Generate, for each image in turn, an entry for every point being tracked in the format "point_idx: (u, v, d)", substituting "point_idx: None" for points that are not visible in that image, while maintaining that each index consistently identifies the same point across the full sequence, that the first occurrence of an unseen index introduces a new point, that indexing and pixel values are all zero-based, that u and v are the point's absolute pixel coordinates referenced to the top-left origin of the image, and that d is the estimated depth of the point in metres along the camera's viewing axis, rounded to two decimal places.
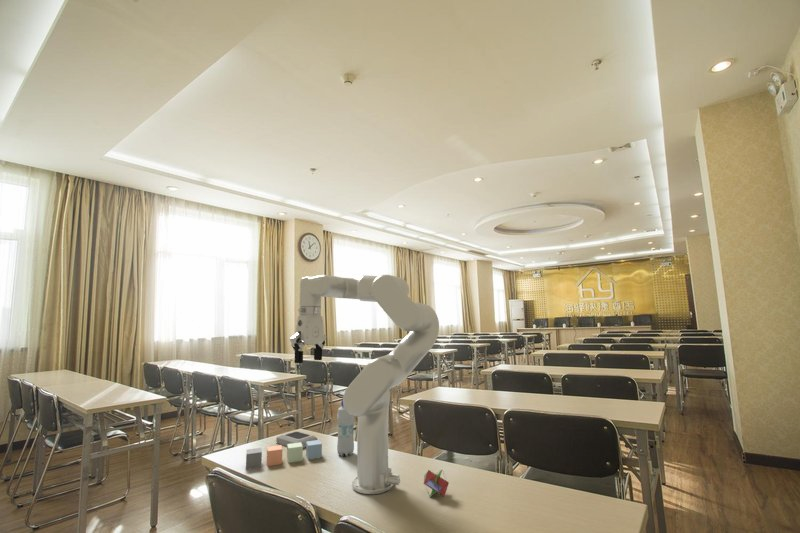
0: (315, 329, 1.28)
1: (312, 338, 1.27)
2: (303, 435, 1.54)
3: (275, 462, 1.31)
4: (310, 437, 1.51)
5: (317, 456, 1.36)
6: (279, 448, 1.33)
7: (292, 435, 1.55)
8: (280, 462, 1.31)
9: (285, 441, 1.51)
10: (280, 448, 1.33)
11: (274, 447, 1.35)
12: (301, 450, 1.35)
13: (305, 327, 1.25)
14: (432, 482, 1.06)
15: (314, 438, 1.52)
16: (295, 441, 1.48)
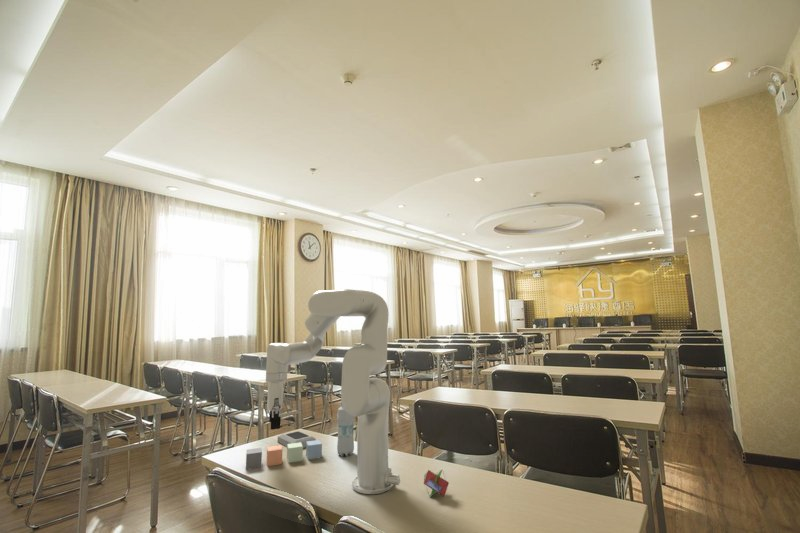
0: None
1: None
2: (303, 435, 1.54)
3: (275, 462, 1.31)
4: (308, 438, 1.51)
5: (317, 456, 1.36)
6: (279, 448, 1.33)
7: (292, 435, 1.55)
8: (280, 462, 1.31)
9: (284, 440, 1.51)
10: (280, 448, 1.33)
11: (274, 447, 1.35)
12: (301, 450, 1.35)
13: None
14: (432, 482, 1.06)
15: (312, 439, 1.51)
16: (292, 441, 1.48)
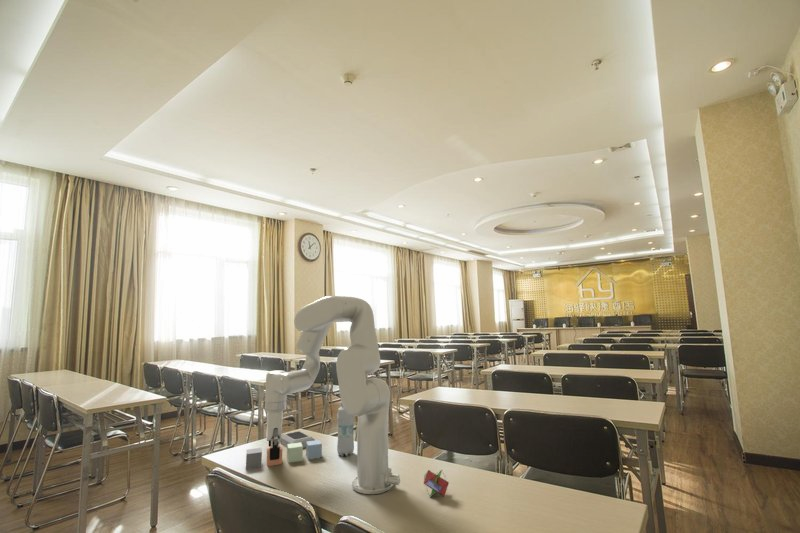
0: None
1: (266, 431, 1.35)
2: (302, 436, 1.54)
3: (275, 462, 1.31)
4: (307, 438, 1.50)
5: (317, 456, 1.36)
6: None
7: (292, 435, 1.55)
8: (280, 462, 1.31)
9: (284, 440, 1.52)
10: (280, 448, 1.33)
11: None
12: (301, 450, 1.35)
13: None
14: (432, 482, 1.06)
15: (311, 439, 1.50)
16: (291, 441, 1.48)
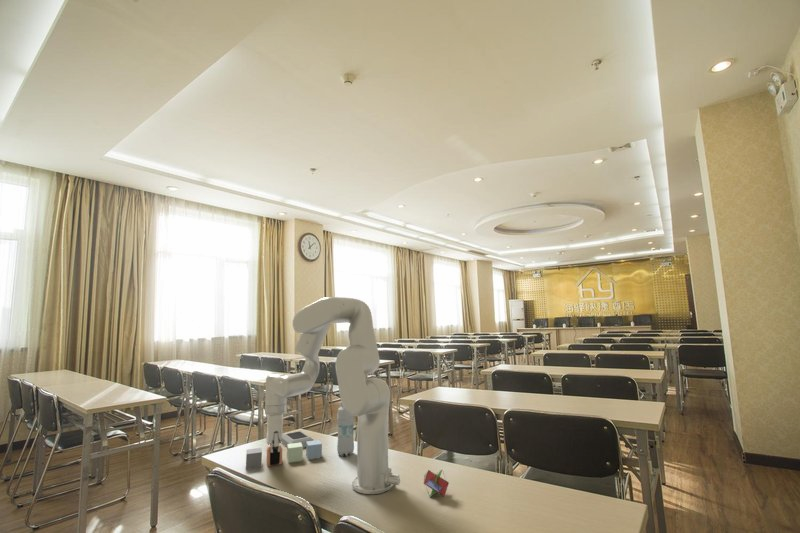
0: None
1: None
2: (302, 436, 1.53)
3: None
4: (306, 438, 1.50)
5: (317, 456, 1.36)
6: None
7: (293, 435, 1.55)
8: (280, 462, 1.31)
9: (284, 440, 1.52)
10: (280, 448, 1.33)
11: None
12: (301, 450, 1.35)
13: None
14: (432, 482, 1.06)
15: (310, 440, 1.50)
16: (290, 441, 1.48)
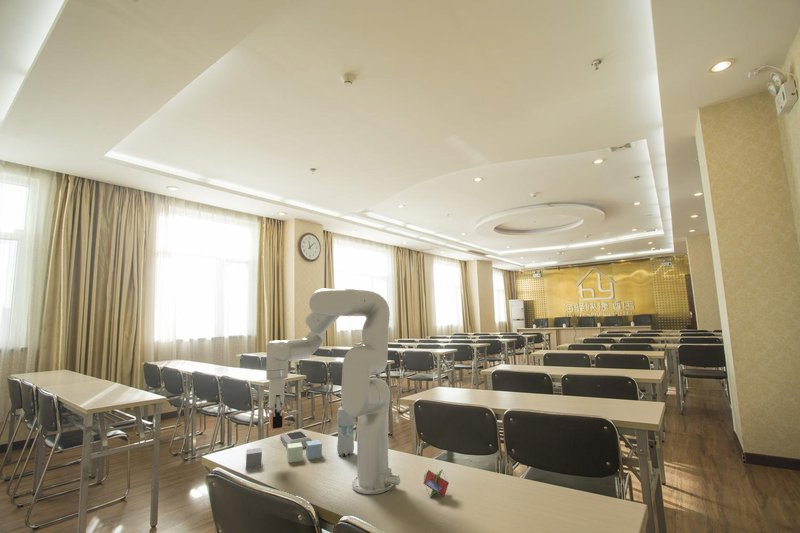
0: None
1: None
2: (302, 436, 1.53)
3: None
4: (305, 439, 1.49)
5: (317, 456, 1.36)
6: None
7: (293, 434, 1.55)
8: (283, 426, 1.33)
9: (283, 439, 1.52)
10: (282, 412, 1.35)
11: None
12: (301, 450, 1.35)
13: None
14: (432, 482, 1.06)
15: (309, 440, 1.49)
16: (288, 441, 1.48)
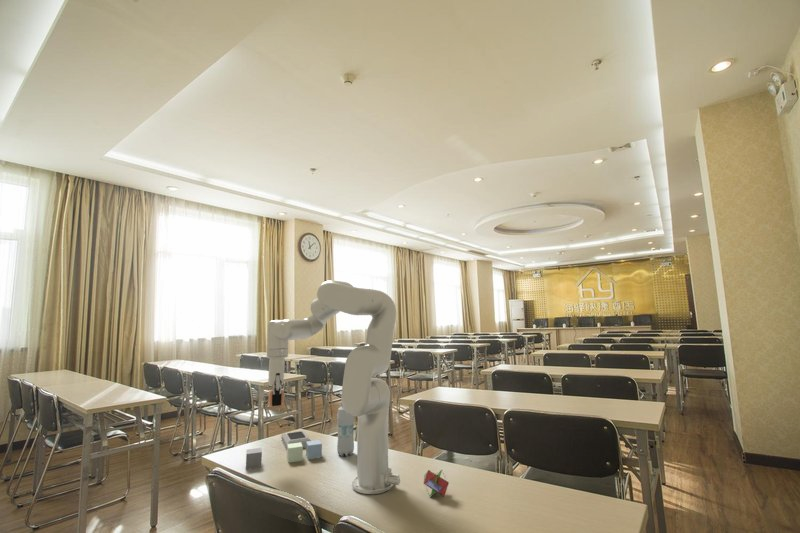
0: None
1: None
2: (301, 436, 1.53)
3: None
4: (303, 439, 1.49)
5: (317, 456, 1.36)
6: None
7: (293, 434, 1.55)
8: (282, 404, 1.34)
9: (283, 439, 1.53)
10: (282, 391, 1.36)
11: None
12: (301, 450, 1.35)
13: None
14: (432, 482, 1.06)
15: None
16: (287, 441, 1.48)
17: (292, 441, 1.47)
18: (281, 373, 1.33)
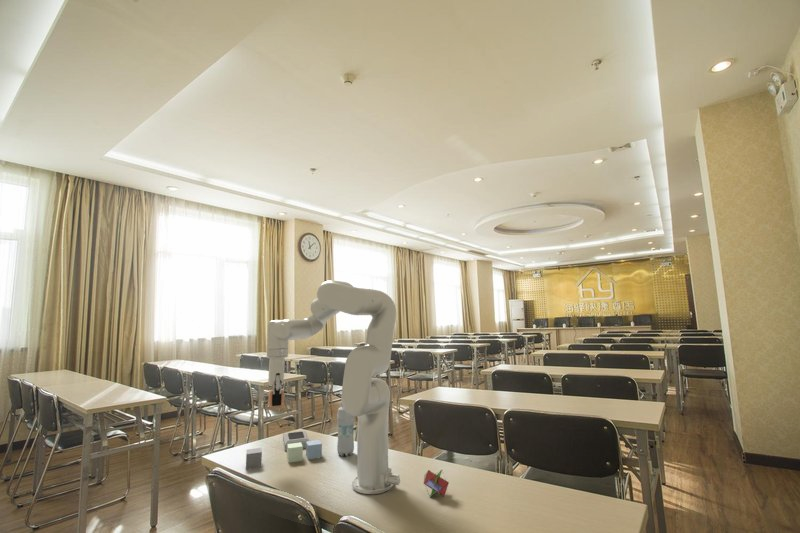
0: None
1: None
2: (301, 436, 1.53)
3: None
4: (302, 439, 1.48)
5: (317, 456, 1.36)
6: None
7: (293, 434, 1.56)
8: (282, 404, 1.34)
9: (283, 439, 1.53)
10: (282, 391, 1.36)
11: None
12: (301, 450, 1.35)
13: None
14: (432, 482, 1.06)
15: (306, 441, 1.48)
16: (286, 440, 1.48)
17: (290, 441, 1.47)
18: (281, 373, 1.33)
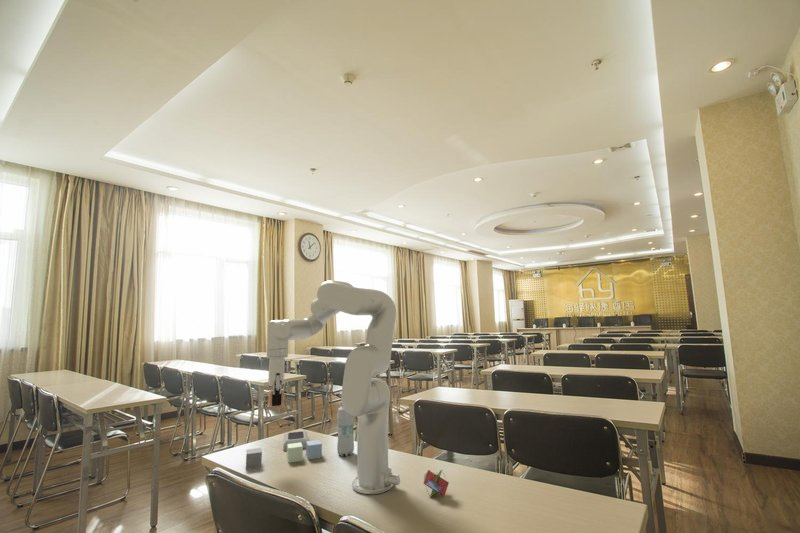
0: None
1: None
2: (300, 436, 1.53)
3: None
4: (301, 440, 1.48)
5: (317, 456, 1.36)
6: None
7: (294, 434, 1.56)
8: (282, 404, 1.34)
9: None
10: (282, 391, 1.36)
11: None
12: (301, 450, 1.35)
13: None
14: (432, 482, 1.06)
15: (304, 442, 1.48)
16: (285, 440, 1.48)
17: (289, 441, 1.47)
18: (281, 373, 1.33)
